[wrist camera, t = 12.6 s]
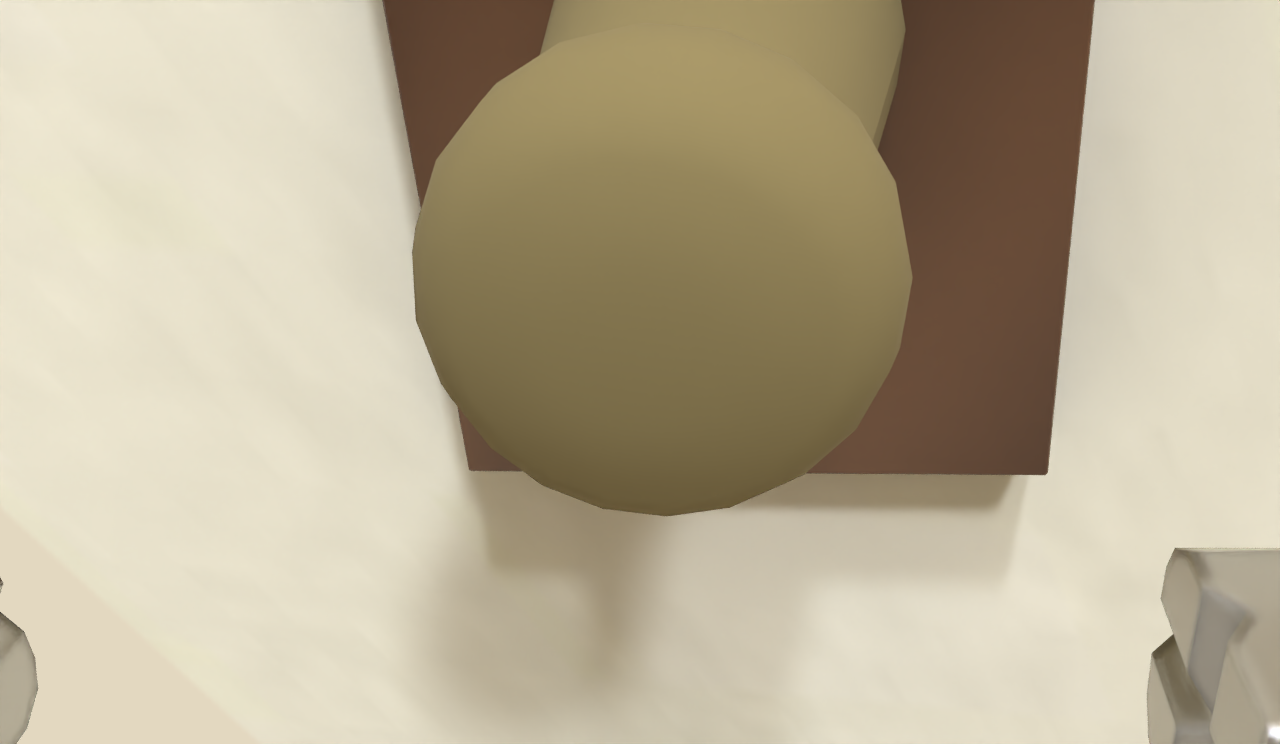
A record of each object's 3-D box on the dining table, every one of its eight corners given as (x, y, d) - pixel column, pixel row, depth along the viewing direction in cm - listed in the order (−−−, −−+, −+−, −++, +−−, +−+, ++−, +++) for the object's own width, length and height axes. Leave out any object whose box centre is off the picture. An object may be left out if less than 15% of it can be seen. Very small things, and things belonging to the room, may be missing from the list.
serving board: (484, 434, 27) (468, 472, 26) (312, -556, 19) (274, -571, 17) (1036, 435, 26) (1047, 476, 24) (1139, -665, 17) (1165, -693, 15)
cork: (527, 162, 22) (307, 526, 13) (585, -189, 19) (351, -45, 10) (845, 241, 22) (856, 664, 13) (956, -98, 19) (1076, 133, 10)
